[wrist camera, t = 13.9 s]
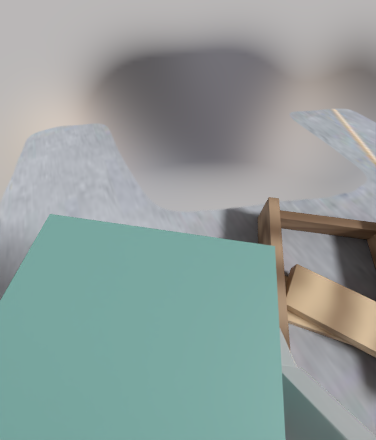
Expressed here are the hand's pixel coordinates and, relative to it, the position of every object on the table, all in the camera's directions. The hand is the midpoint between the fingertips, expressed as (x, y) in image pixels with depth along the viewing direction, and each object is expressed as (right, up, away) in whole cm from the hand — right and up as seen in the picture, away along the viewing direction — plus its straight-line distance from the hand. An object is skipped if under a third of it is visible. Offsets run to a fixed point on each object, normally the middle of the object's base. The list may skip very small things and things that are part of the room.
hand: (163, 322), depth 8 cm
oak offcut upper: (+21, -9, +21) cm, 31 cm away
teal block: (0, -4, +5) cm, 6 cm away
